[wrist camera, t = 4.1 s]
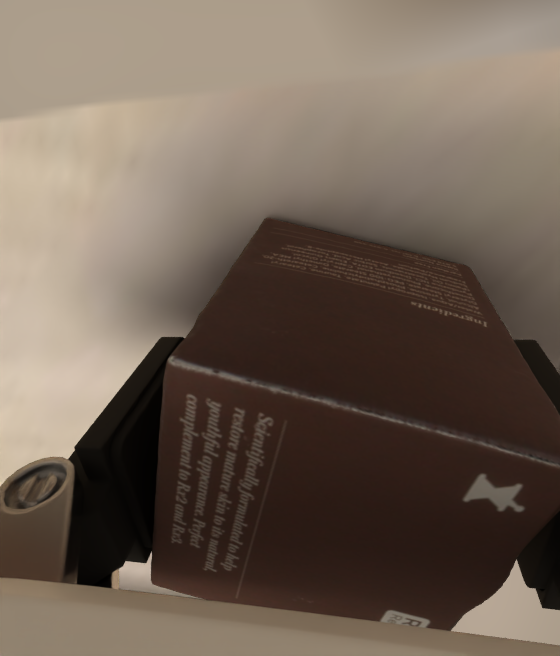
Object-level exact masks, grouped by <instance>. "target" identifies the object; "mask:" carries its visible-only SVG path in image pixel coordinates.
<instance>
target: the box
mask: <svg viewBox="0 0 560 656" xmlns="http://www.w3.org/2000/svg"><path fill="white" fill-rule="evenodd" d="M559 511H560V415H559V413H558V411H557V410H556V408H555V406H554V405H553V403H552V402H551V400H550V399H549V397H548V396H547V394H546V393H545V391H544V390H543V388H542V387H541V386H540V384H539V383H538V381H537V379H536V378H535V376H534V374H533V373H532V371H531V369H530V368H529V366H528V364H527V362H526V361H525V359H524V358H523V356H522V354H521V353H520V351H519V349H518V347H517V345H516V344H515V342H514V341H513V339H512V337H511V336H510V334H509V332H508V330H507V329H506V327H505V325H504V323H503V322H502V321H501V319H500V317H499V315H498V314H497V312H496V310H495V308H494V307H493V305H492V304H491V302H490V300H489V299H488V297H487V295H486V294H485V292H484V290H483V289H482V287H481V285H480V283H479V282H478V280H477V279H476V277H475V275H474V273H473V272H472V270H471V269H470V268H469V267H467V266H465V265H462V264H457V263H452V262H448V261H445V260H441V259H437V258H432V257H429V256H425V255H419V254H416V253H412V252H408V251H404V250H399V249H394V248H391V247H387V246H383V245H378V244H374V243H370V242H366V241H362V240H358V239H354V238H350V237H346V236H341V235H336V234H333V233H329V232H325V231H321V230H317V229H312V228H307V227H303V226H299V225H295V224H291V223H287V222H282V221H279V220H275V219H271V218H266V219H264V221H263V222H262V224H261V225H260V227H259V229H258V230H257V231H256V233H255V234H254V236H253V237H252V238H251V240H250V242H249V243H248V244H247V246H246V247H245V249H244V250H243V252H242V254H241V255H240V256H239V258H238V259H237V261H236V262H235V263H234V265H233V266H232V268H231V269H230V271H229V273H228V275H227V276H226V277H225V279H224V280H223V282H222V284H221V285H220V287H219V288H218V289H217V291H216V292H215V294H214V295H213V296H212V298H211V299H210V301H209V302H208V304H207V305H206V307H205V308H204V310H203V311H202V312H201V313H200V314H199V316H198V318H197V320H196V323H195V325H194V327H193V328H192V330H191V331H190V332H189V334H188V335H187V337H186V338H185V339H184V340H183V341H182V342H181V343H180V344H179V345H178V346H177V348H176V349H175V350H174V352H173V353H172V354H171V355H170V357H169V358H168V360H167V363H166V369H165V374H164V380H163V397H162V408H161V417H160V431H159V446H158V465H157V476H156V495H155V512H154V527H153V529H154V531H153V544H152V561H151V581H152V583H153V584H154V585H157V586H159V587H163V588H167V589H170V590H173V591H176V592H180V593H184V594H188V595H191V596H195V597H198V598H203V599H206V600H211V601H219V602H227V603H235V604H243V605H251V606H259V607H267V608H275V609H283V610H291V611H299V612H307V613H315V614H323V615H330V616H338V617H346V618H354V619H362V620H370V621H378V622H385V623H393V624H401V625H408V626H416V627H423V628H431V629H438V630H446V631H451V630H452V628H453V627H454V626H455V625H456V624H457V622H458V621H459V620H460V619H461V618H462V616H463V615H464V614H465V613H467V612H468V611H470V610H471V609H473V608H474V607H476V606H478V605H480V604H482V603H483V602H484V601H485V600H487V599H488V598H490V597H491V596H492V595H493V594H495V593H496V591H498V589H500V588H501V587H502V585H503V583H504V582H505V581H506V579H507V578H508V577H509V575H510V572H511V570H512V568H513V566H514V563H515V561H516V559H517V557H518V556H519V554H520V553H521V552H522V550H523V549H524V548H525V547H526V546H527V544H528V543H529V542H530V541H531V540H532V539H533V538H534V537H535V536H536V535H537V534H538V533H539V532H540V531H541V530H542V529H543V528H544V527H545V525H546V524H547V523H548V522H549V521H550V520H551V519H552V518H553V517H554V516H555V515H556V514H557V513H558V512H559Z"/></svg>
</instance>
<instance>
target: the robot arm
mask: <svg viewBox="0 0 560 656" xmlns="http://www.w3.org/2000/svg"><path fill="white" fill-rule="evenodd" d="M184 339H185V338H183V337H161V338H160V339H159V340H158V342H157V343H156V344H155V346H154V347H153V348H152V349H151V351H150V352H149V353H148V354H147V356H146V357H145V358H144V359H143V361H142V362H141V363H140V365H139V366H138V367H137V368H136V370H135V371H134V372H133V373H132V375H131V376H130V377H129V379H128V380H127V381H126V382H125V384H124V385H123V386H122V387H121V389H120V390H119V391H118V392H117V394H116V395H115V396H114V398H113V399H112V400H111V401H110V403H109V404H108V405H107V406H106V408H105V409H104V410H103V412H102V413H101V414H100V415H99V417H98V418H97V419H96V420H95V422H94V423H93V424H92V425H91V427H90V428H89V429H88V431H87V432H86V433H85V434H84V436H83V437H82V438H81V439H80V441H79V442H78V443H77V445H76V446H75V447H74V448H75V451H74V452H73V454H72V455H71V456H70V458H69V459H65V458H63V457H49V458H43V459H40V460H37V461H34V462H32V463H29V464H27V465H26V466H24V467H22V468H20V469H19V470H17V471H16V472H15V473H13V474H12V475H11V476H10V477H8V478H7V479H6V481H5V482H4V483H3V484H2V485H1V486H0V656H560V646H558V645H552V644H545V643H537V642H529V641H522V640H514V639H507V638H499V637H492V636H484V635H475V634H469V633H460V632H453V631H446V630H438V629H431V628H423V627H416V626H408V625H401V624H393V623H385V622H378V621H370V620H362V619H354V618H346V617H338V616H330V615H323V614H315V613H307V612H299V611H291V610H283V609H275V608H267V607H259V606H251V605H243V604H235V603H227V602H219V601H211V600H203V599H195V598H187V597H178V596H170V595H162V594H153V593H145V592H137V591H129V590H120V589H119V568H121V567H122V566H123V565H124V563H125V561H131V562H140V563H146V562H147V560H148V558H149V556H150V553H151V551H152V544H153V531H154V529H153V527H154V512H155V495H156V476H157V465H158V446H159V431H160V417H161V408H162V397H163V380H164V374H165V369H166V363H167V360H168V358H169V357H170V355H171V354H172V353H173V352H174V350H175V349H176V348H177V346H178V345H179V344H180V343H181V342H182V341H183V340H184ZM513 341H514V342H515V344H516V345H517V347H518V349H519V351H520V353H521V354H522V356H523V358H524V359H525V361H526V362H527V364H528V366H529V368H530V369H531V371H532V373H533V374H534V376H535V378H536V379H537V381H538V383H539V384H540V386H541V387H542V388H543V390H544V391H545V393H546V394H547V396H548V397H549V399H550V400H551V402H552V403H553V405H554V406H555V408H556V410H557V411H558V413H559V415H560V374H559V373H558V372H557V370H556V369H555V367H554V366H553V364H552V363H551V362H550V360H549V359H548V357H547V356H546V354H545V353H544V352H543V350H542V349H541V347H540V346H539V344H538V343H537V342H536V341H535V340H513ZM517 561H518V564H519V567H520V570H521V573H522V576H523V579H524V581H525V584H526V585H527V586H528V587H529V588H536V591H537V594H538V597H539V599H540V602H541V605H542V608H547V609H555V610H560V511H559V512H558V513H557V514H556V515H555V516H554V517H553V518H552V519H551V520H550V521H549V522H548V523H547V524H546V525H545V527H544V528H543V529H542V530H541V531H540V532H539V533H538V534H537V535H536V536H535V537H534V538H533V539H532V540H531V541H530V542H529V543H528V544H527V546H526V547H525V548H524V549H523V550H522V552H521V553H520V554H519V556H518V557H517Z"/></svg>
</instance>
